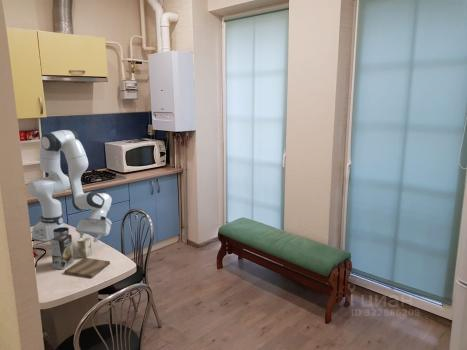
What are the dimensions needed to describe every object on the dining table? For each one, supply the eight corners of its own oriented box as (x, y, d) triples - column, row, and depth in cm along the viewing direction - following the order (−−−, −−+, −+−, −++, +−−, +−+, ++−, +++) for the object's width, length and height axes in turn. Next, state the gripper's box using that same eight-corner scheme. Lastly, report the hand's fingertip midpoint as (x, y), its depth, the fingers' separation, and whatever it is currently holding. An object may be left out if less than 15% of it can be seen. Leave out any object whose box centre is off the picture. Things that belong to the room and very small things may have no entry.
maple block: (78, 256, 204) (77, 240, 201) (84, 253, 208) (82, 237, 206) (86, 258, 203) (85, 241, 200) (91, 254, 207) (90, 238, 205)
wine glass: (73, 252, 209) (71, 227, 206) (64, 258, 202) (62, 232, 199) (61, 250, 211) (59, 226, 208) (52, 256, 204) (49, 231, 200)
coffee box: (63, 269, 189) (60, 240, 186) (52, 268, 190) (49, 239, 187) (74, 261, 198) (71, 234, 194) (63, 260, 199) (61, 233, 195)
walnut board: (64, 273, 185) (64, 270, 185) (84, 260, 200) (84, 257, 200) (92, 278, 181) (92, 275, 181) (109, 263, 197) (109, 261, 196)
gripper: (78, 215, 214) (69, 236, 206) (109, 218, 209) (101, 240, 202) (84, 219, 219) (74, 240, 212) (114, 223, 214) (106, 244, 207)
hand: (87, 240), depth 207 cm, fingers open, 8 cm apart
